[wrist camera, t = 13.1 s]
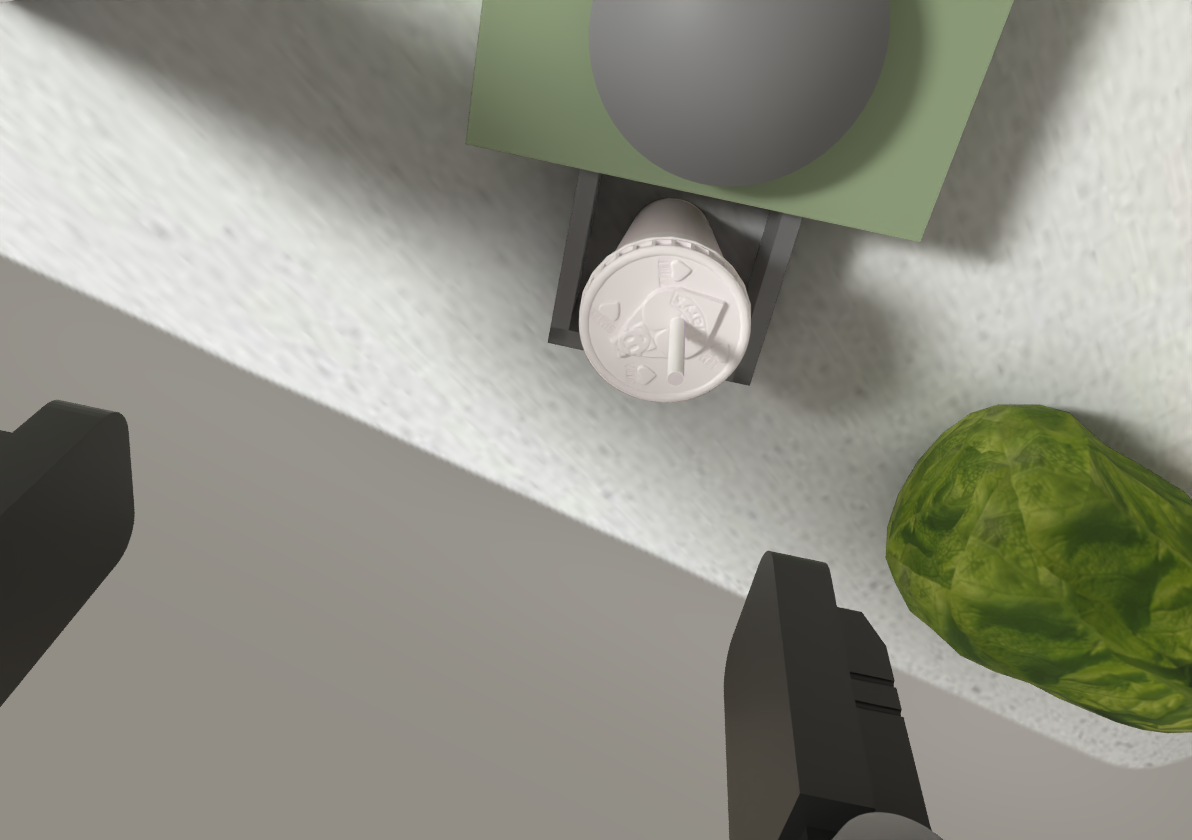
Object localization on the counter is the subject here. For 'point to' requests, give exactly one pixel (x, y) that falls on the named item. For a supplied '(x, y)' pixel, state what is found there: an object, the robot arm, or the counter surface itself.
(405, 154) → the counter surface
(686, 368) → the smoothie
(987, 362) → the counter surface
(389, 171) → the counter surface
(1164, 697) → the lettuce
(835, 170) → the green base
